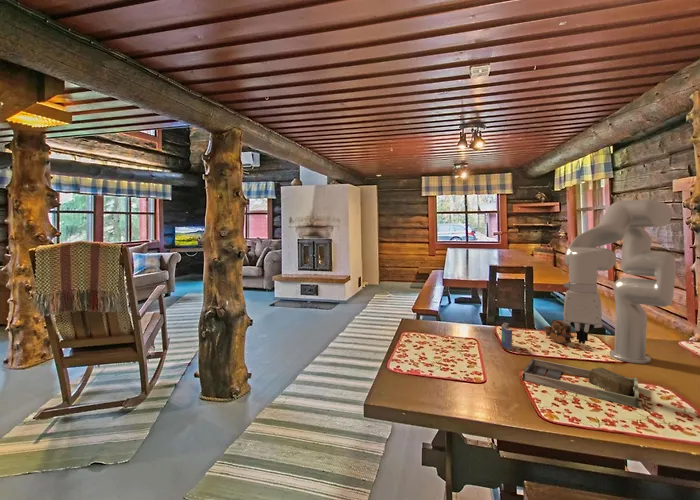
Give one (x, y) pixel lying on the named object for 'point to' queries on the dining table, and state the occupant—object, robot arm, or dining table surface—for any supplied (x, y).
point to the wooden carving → (559, 332)
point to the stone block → (611, 381)
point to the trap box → (553, 381)
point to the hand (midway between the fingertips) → (582, 342)
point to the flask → (506, 337)
